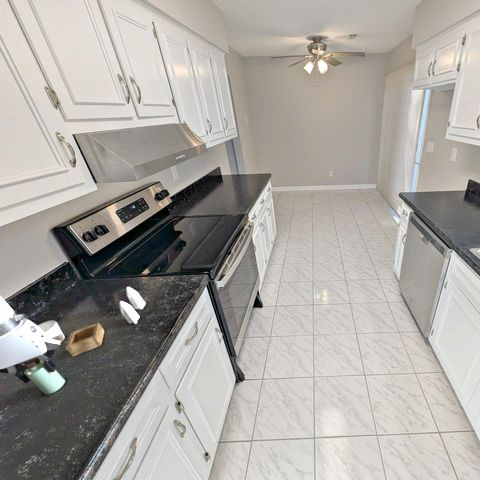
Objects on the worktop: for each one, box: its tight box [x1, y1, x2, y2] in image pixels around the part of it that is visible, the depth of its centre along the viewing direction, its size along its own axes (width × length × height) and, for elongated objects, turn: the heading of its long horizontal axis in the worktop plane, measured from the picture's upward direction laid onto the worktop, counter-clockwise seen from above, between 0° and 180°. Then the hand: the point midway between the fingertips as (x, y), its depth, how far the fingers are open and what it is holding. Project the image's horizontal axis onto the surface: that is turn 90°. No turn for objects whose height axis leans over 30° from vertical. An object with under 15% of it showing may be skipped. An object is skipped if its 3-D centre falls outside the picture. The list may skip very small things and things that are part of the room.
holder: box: [65, 322, 105, 357], centre depth 85 cm, size 8×8×4 cm
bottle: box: [22, 357, 66, 395], centre depth 70 cm, size 5×5×12 cm
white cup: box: [36, 320, 66, 349], centre depth 86 cm, size 7×7×7 cm
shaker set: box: [118, 286, 146, 325], centre depth 95 cm, size 12×4×11 cm, turn 12°
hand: (41, 372), depth 70 cm, fingers closed on bottle, 4 cm apart
